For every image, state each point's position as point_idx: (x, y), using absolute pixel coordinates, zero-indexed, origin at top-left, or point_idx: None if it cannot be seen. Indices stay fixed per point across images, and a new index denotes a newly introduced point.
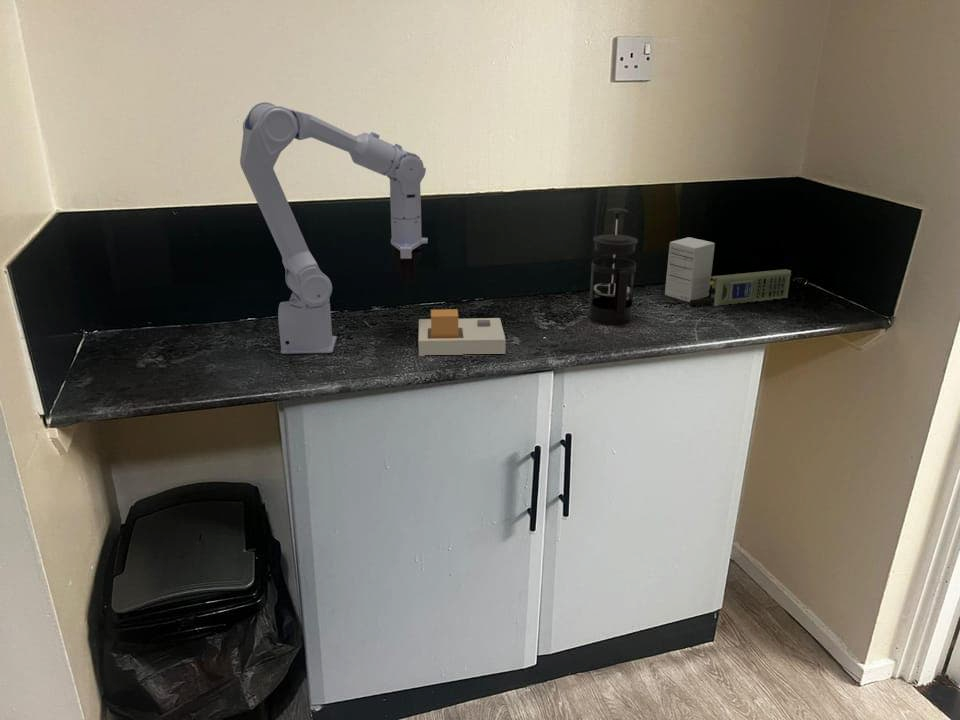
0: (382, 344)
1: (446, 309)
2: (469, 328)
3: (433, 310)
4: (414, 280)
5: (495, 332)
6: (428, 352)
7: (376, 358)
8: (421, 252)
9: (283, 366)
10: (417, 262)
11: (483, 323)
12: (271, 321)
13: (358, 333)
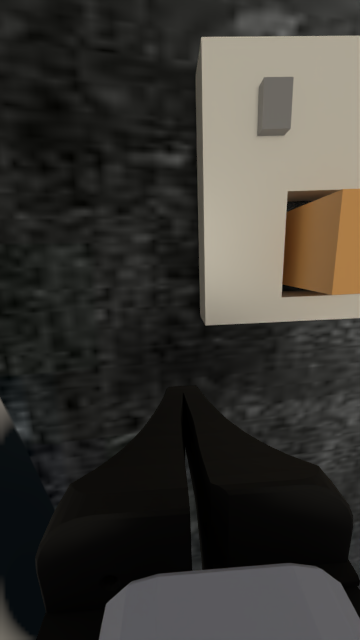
0: (263, 390)
1: (338, 235)
2: (296, 166)
3: (342, 285)
4: (201, 392)
5: (346, 70)
6: None
7: (341, 393)
8: (267, 488)
9: None
10: (273, 448)
11: (291, 107)
12: None
13: None
